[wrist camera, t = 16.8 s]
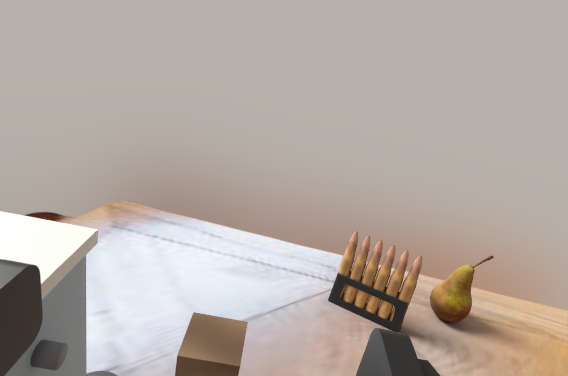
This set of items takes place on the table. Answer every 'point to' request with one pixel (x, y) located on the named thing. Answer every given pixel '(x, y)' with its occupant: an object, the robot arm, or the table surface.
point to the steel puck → (101, 373)
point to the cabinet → (52, 290)
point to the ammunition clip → (375, 284)
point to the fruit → (454, 294)
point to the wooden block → (211, 347)
